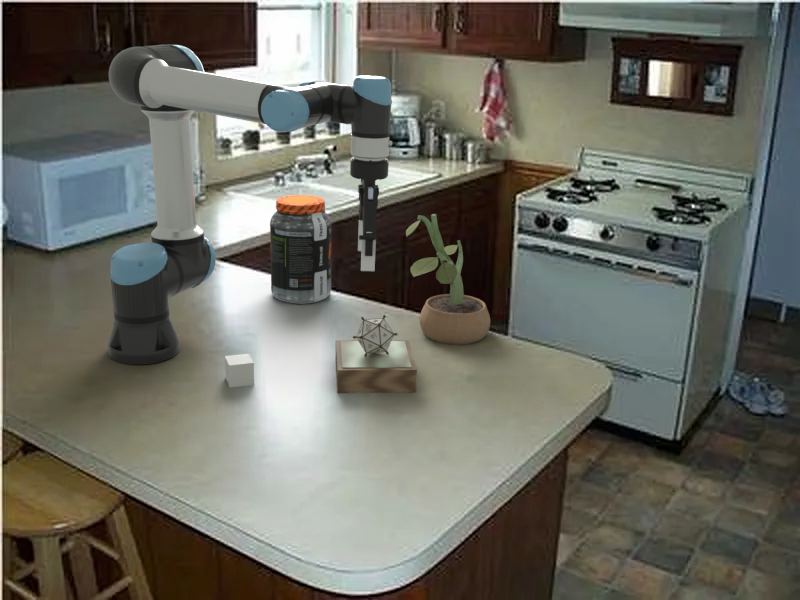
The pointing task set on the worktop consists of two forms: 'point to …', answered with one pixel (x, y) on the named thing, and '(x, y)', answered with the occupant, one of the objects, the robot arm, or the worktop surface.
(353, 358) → the walnut framed mirror
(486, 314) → the potted plant
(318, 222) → the supplement tub
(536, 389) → the worktop surface
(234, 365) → the grey block
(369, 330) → the game die
